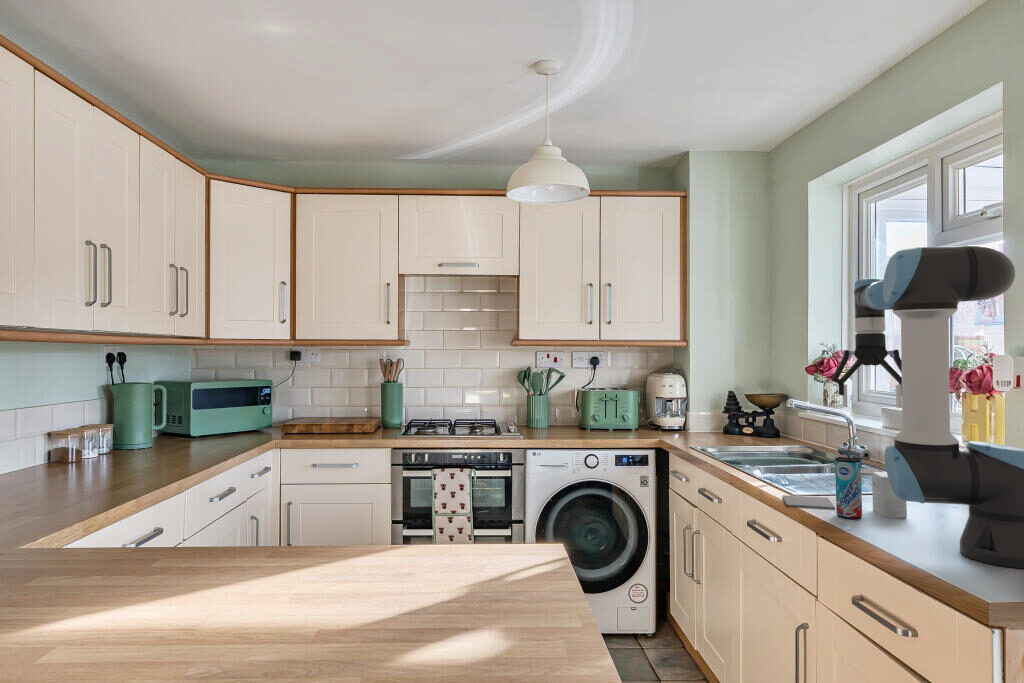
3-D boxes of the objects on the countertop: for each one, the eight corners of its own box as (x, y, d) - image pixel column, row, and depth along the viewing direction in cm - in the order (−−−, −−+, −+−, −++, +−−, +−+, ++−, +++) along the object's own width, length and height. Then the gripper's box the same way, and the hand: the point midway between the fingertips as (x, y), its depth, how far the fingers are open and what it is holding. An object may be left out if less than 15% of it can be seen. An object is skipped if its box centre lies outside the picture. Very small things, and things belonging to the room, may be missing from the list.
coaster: (835, 509, 173) (835, 507, 173) (787, 506, 177) (787, 504, 177) (827, 499, 184) (827, 497, 184) (782, 497, 188) (782, 495, 188)
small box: (907, 518, 163) (906, 477, 163) (883, 517, 164) (882, 476, 164) (895, 511, 171) (894, 471, 171) (872, 510, 172) (871, 471, 172)
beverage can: (832, 517, 165) (831, 459, 165) (841, 513, 169) (840, 456, 169) (856, 521, 161) (855, 461, 161) (865, 517, 164) (864, 459, 165)
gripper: (916, 332, 182) (918, 407, 182) (820, 334, 190) (821, 405, 189) (924, 331, 175) (926, 409, 174) (824, 333, 183) (825, 407, 182)
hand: (871, 407), depth 182 cm, fingers open, 13 cm apart
